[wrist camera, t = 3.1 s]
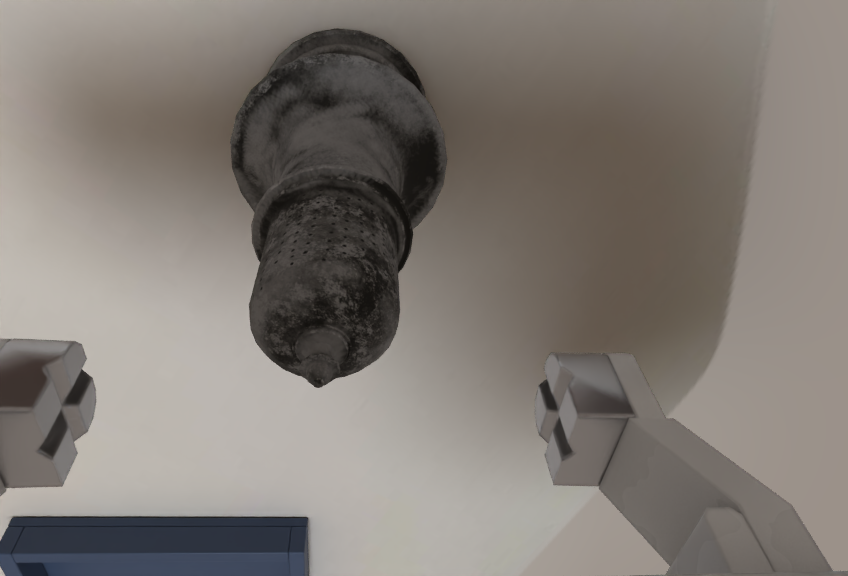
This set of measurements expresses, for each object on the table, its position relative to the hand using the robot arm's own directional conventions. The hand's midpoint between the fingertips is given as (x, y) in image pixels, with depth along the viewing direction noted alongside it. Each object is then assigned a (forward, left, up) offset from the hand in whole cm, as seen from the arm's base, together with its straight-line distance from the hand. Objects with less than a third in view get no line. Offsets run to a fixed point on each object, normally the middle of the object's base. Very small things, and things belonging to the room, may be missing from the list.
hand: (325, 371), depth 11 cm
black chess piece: (0, 0, -12) cm, 12 cm away
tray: (+9, +29, -11) cm, 32 cm away
